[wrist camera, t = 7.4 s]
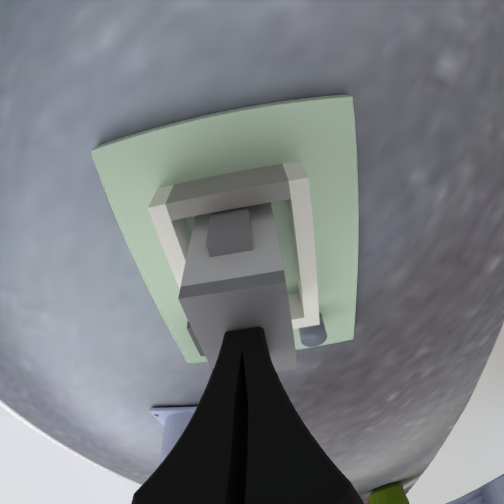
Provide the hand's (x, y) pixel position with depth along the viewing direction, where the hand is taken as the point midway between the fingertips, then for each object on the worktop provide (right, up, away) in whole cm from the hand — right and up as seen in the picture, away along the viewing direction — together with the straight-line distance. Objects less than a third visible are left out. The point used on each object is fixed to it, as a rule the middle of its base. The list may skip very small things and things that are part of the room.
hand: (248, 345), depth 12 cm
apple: (+40, -66, +57) cm, 96 cm away
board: (0, +3, +6) cm, 7 cm away
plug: (0, +4, +5) cm, 6 cm away
